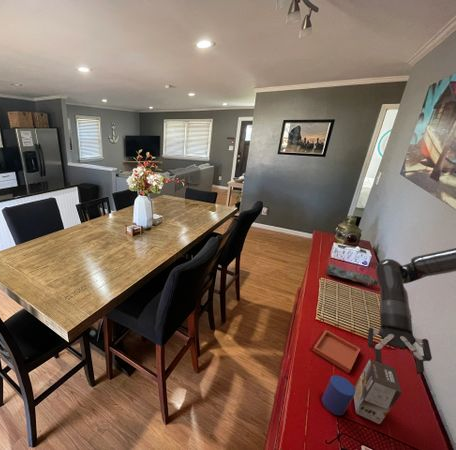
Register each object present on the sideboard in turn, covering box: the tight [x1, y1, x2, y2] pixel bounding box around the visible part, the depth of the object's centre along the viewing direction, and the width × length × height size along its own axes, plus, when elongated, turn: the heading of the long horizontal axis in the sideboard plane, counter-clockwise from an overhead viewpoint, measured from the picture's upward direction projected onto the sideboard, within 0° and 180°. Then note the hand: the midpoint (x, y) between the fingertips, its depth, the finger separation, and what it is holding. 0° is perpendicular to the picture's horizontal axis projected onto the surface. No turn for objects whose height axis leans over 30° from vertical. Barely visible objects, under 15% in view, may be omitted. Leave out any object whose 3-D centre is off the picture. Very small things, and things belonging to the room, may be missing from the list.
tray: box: [312, 329, 361, 374], centre depth 98 cm, size 13×15×2 cm
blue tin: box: [321, 374, 355, 416], centre depth 77 cm, size 6×6×10 cm
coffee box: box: [353, 358, 403, 425], centre depth 76 cm, size 9×6×16 cm
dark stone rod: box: [325, 263, 379, 287], centre depth 145 cm, size 13×7×25 cm
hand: (398, 368), depth 74 cm, fingers open, 8 cm apart
